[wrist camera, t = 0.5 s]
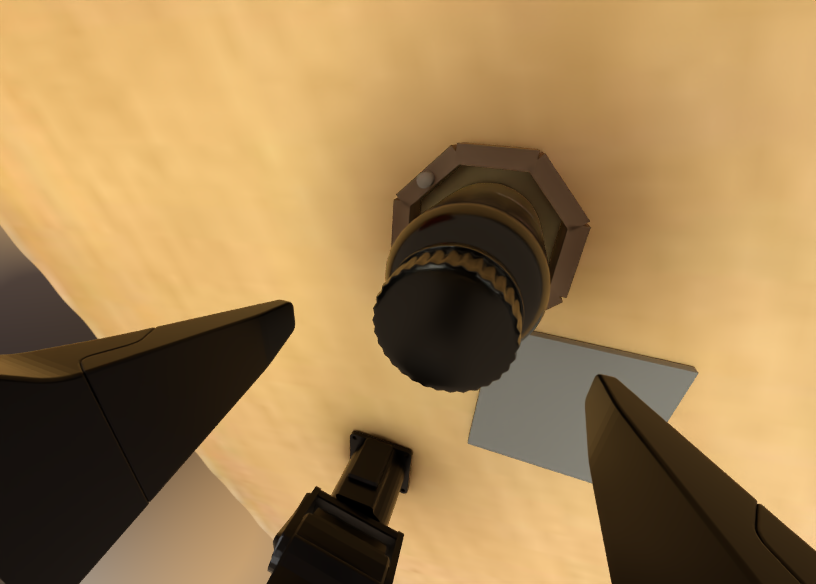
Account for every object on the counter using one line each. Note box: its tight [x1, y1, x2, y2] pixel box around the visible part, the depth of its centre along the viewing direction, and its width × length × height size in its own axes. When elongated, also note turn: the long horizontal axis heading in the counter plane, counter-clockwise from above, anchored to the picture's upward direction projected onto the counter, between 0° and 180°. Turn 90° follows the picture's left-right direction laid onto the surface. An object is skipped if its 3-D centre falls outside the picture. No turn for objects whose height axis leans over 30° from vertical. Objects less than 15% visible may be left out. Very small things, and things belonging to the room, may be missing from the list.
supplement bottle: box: [373, 183, 551, 393], centre depth 15 cm, size 7×7×12 cm
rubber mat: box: [468, 331, 698, 483], centre depth 23 cm, size 12×12×1 cm
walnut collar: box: [391, 143, 591, 310], centre depth 19 cm, size 10×10×3 cm
